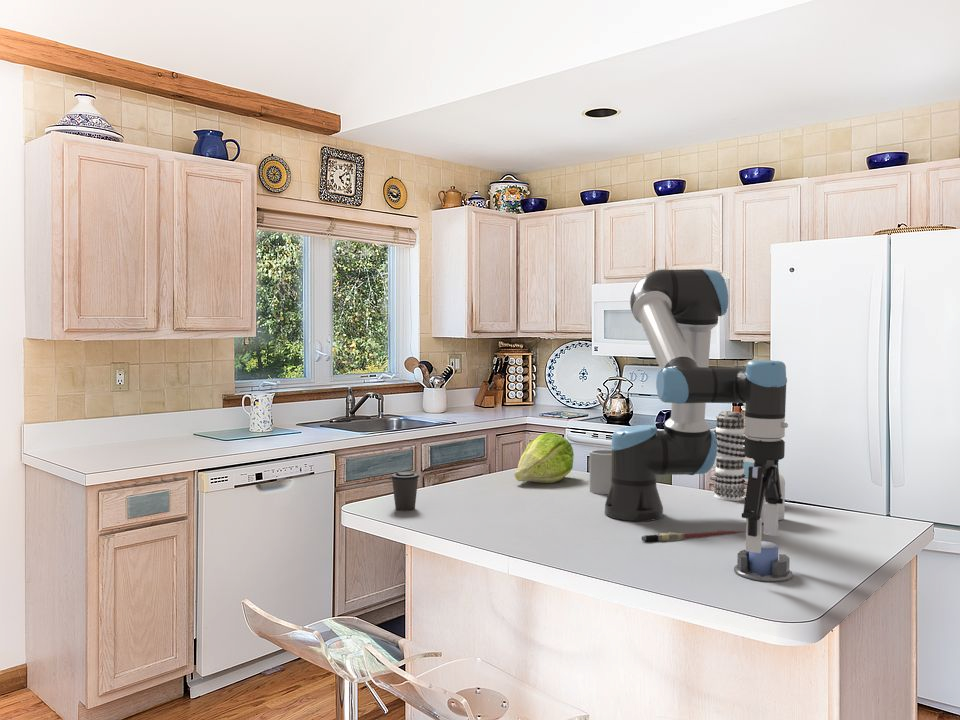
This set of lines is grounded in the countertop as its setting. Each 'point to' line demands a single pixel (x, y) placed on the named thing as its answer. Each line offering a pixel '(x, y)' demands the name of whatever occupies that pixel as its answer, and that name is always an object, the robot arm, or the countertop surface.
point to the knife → (683, 535)
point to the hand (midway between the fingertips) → (762, 543)
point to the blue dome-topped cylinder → (763, 559)
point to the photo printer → (781, 506)
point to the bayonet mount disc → (778, 575)
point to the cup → (600, 471)
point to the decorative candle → (730, 456)
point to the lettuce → (545, 459)
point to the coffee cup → (405, 490)
